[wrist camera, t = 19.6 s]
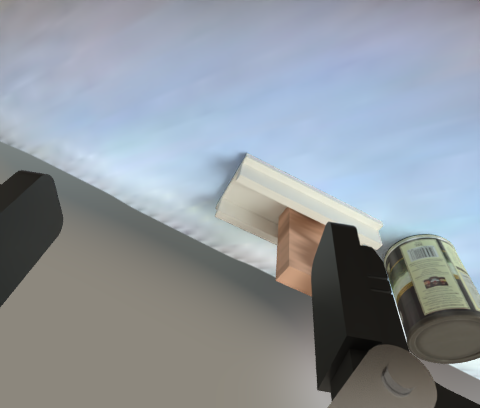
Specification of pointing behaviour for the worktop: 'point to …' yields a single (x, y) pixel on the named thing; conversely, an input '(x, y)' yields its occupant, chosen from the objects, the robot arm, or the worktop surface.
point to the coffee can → (435, 299)
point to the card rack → (285, 203)
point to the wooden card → (297, 249)
